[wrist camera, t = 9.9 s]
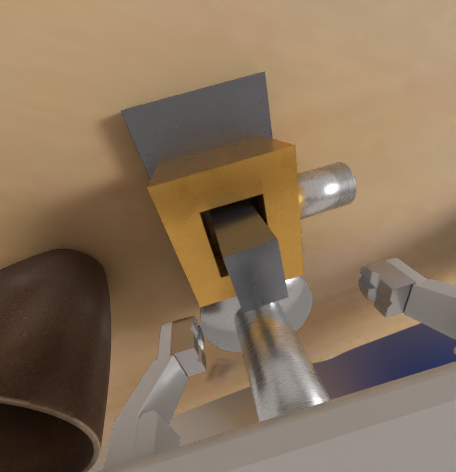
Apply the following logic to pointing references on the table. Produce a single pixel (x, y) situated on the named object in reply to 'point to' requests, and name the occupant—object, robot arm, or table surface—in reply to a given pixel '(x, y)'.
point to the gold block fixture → (264, 202)
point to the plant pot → (53, 362)
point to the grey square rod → (249, 255)
